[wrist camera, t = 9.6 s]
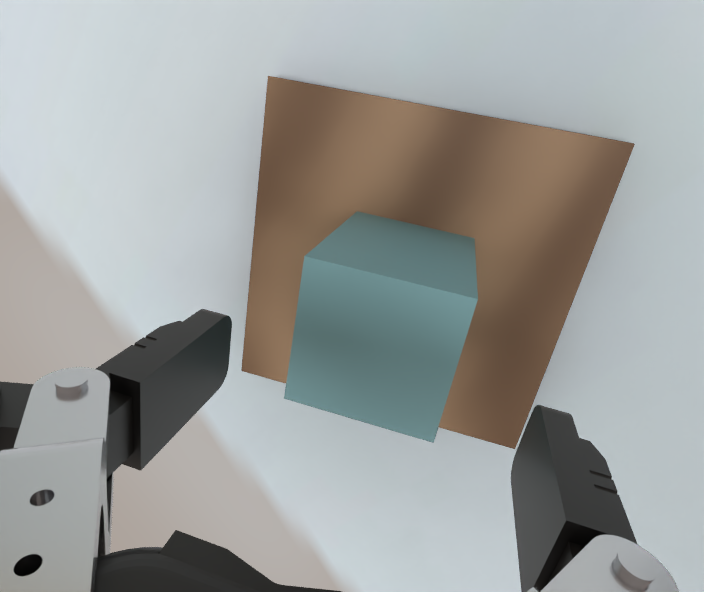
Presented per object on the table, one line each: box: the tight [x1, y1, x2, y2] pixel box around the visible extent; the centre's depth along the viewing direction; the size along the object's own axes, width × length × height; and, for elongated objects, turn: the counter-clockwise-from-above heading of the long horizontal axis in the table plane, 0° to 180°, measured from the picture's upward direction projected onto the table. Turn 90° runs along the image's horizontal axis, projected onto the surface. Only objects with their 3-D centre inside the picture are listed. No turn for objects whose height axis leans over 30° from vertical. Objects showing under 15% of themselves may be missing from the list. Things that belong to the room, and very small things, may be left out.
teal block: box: [284, 211, 478, 442], centre depth 17 cm, size 5×5×7 cm
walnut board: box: [242, 76, 634, 449], centre depth 21 cm, size 14×14×1 cm
